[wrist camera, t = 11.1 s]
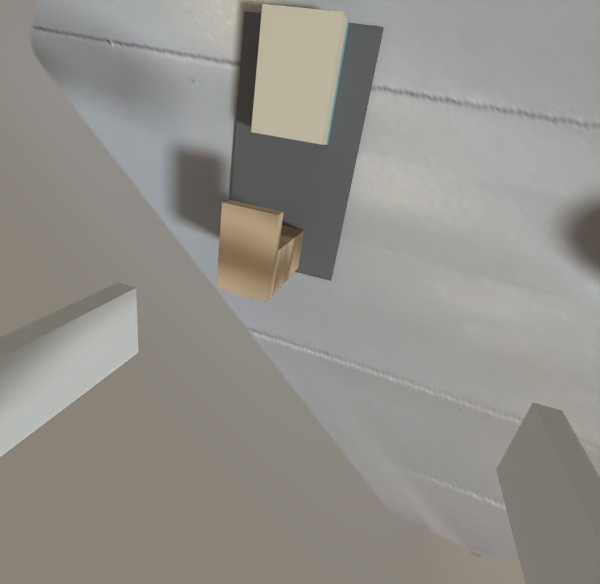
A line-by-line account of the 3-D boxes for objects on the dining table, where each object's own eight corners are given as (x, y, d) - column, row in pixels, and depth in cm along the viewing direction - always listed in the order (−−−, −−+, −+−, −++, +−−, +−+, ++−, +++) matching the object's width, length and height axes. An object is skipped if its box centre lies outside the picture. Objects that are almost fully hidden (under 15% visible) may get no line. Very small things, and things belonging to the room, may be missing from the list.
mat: (246, 13, 34) (244, 11, 34) (383, 28, 32) (383, 27, 31) (228, 253, 44) (226, 254, 44) (331, 279, 41) (330, 280, 41)
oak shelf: (266, 188, 40) (221, 202, 30) (310, 198, 39) (277, 214, 29) (259, 257, 43) (216, 288, 34) (298, 267, 42) (266, 302, 33)
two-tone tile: (250, 132, 35) (262, 132, 37) (321, 144, 33) (328, 144, 36) (262, 3, 30) (274, 15, 33) (343, 11, 29) (348, 23, 32)
